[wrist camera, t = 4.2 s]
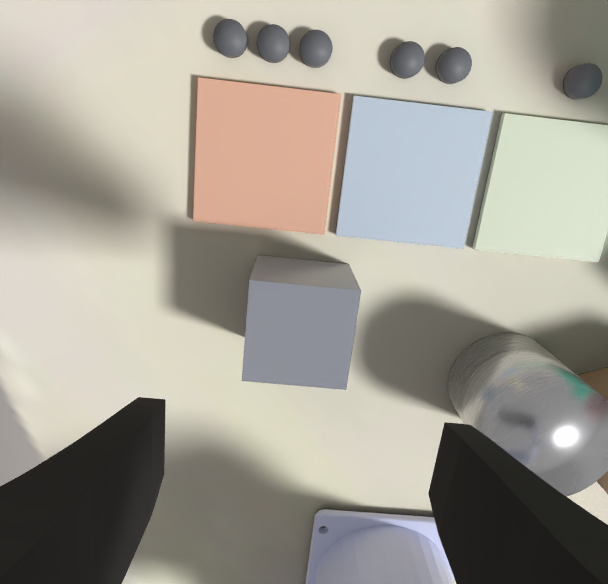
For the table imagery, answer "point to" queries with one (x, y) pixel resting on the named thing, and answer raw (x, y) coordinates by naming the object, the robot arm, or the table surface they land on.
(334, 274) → the marker cube
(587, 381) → the walnut block
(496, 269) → the table surface
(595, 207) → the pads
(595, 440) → the grey tin
